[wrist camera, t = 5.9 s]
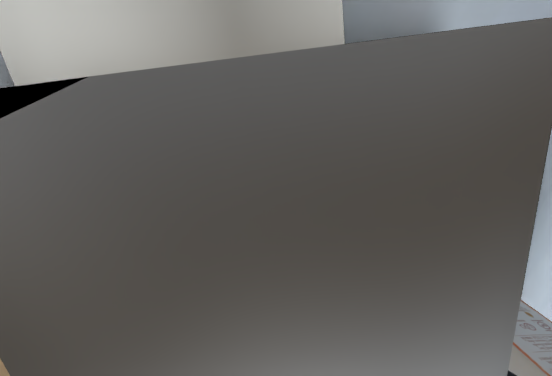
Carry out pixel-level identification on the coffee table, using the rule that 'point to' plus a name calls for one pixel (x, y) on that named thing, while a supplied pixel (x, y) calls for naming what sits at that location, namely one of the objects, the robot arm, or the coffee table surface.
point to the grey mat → (154, 33)
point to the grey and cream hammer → (278, 211)
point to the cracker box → (531, 344)
